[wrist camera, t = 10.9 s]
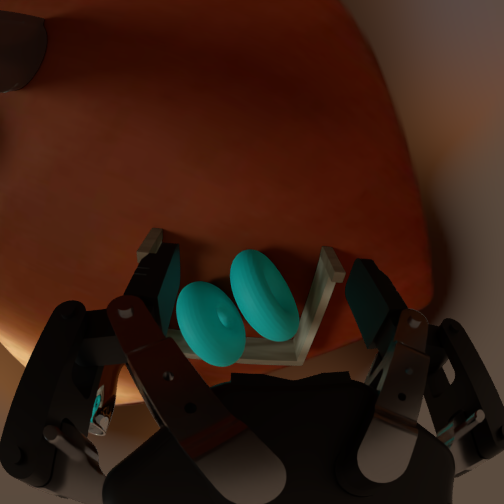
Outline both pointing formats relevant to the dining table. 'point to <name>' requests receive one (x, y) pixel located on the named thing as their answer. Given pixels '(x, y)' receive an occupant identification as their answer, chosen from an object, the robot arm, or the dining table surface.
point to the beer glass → (105, 400)
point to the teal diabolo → (227, 316)
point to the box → (308, 325)
